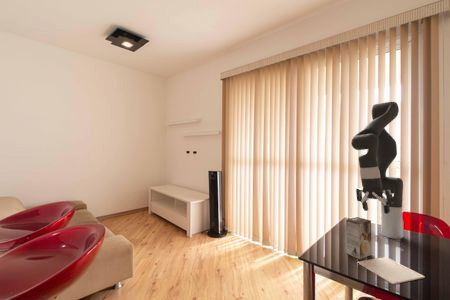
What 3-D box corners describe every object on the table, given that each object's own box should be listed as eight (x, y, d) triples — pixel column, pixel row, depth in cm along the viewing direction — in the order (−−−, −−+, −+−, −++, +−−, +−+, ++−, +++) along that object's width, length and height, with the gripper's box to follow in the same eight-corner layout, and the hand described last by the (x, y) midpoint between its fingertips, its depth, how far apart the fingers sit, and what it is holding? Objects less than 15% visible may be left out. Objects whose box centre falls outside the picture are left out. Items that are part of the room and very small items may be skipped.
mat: (386, 258, 91) (386, 257, 91) (424, 277, 77) (424, 276, 77) (357, 262, 88) (357, 261, 88) (392, 284, 73) (392, 283, 73)
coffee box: (357, 249, 100) (357, 216, 100) (371, 255, 94) (371, 220, 94) (345, 253, 96) (345, 219, 96) (360, 260, 90) (360, 223, 90)
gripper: (392, 175, 90) (398, 212, 89) (359, 175, 103) (364, 208, 102) (383, 178, 87) (389, 216, 86) (350, 177, 99) (355, 211, 98)
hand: (376, 211), depth 94 cm, fingers open, 8 cm apart
